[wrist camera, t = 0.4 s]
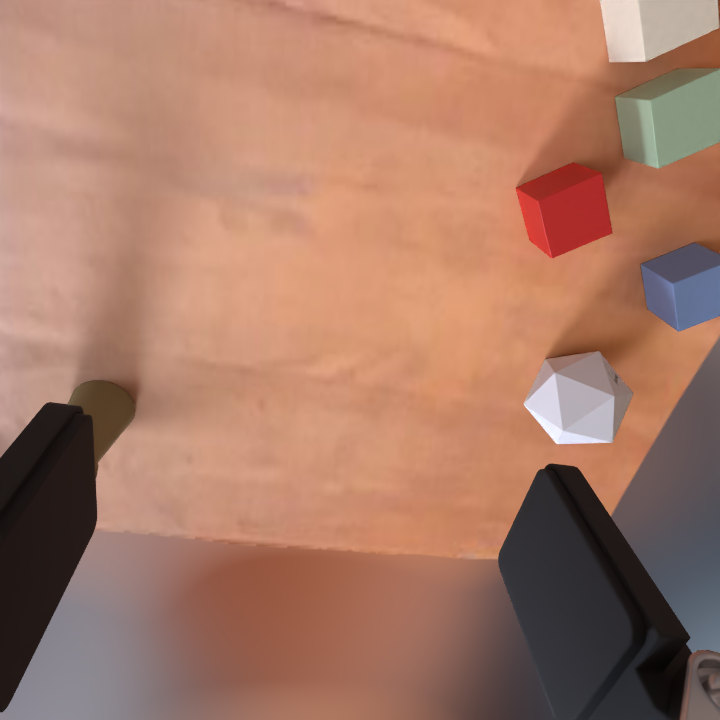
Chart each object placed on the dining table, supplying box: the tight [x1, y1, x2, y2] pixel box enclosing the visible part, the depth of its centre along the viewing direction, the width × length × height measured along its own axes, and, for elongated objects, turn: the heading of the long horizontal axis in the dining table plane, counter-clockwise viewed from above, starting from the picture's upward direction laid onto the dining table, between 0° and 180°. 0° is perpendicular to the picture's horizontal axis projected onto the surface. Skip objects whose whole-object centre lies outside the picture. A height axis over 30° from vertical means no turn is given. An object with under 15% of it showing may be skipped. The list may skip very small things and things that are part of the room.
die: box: [524, 351, 633, 444], centre depth 50 cm, size 8×9×10 cm
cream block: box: [600, 0, 720, 62], centre depth 35 cm, size 5×5×5 cm
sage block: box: [615, 68, 720, 168], centre depth 39 cm, size 5×5×5 cm
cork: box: [68, 381, 135, 478], centre depth 46 cm, size 6×6×11 cm
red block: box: [516, 162, 612, 258], centre depth 42 cm, size 5×5×5 cm
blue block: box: [641, 243, 720, 331], centre depth 46 cm, size 5×5×5 cm
